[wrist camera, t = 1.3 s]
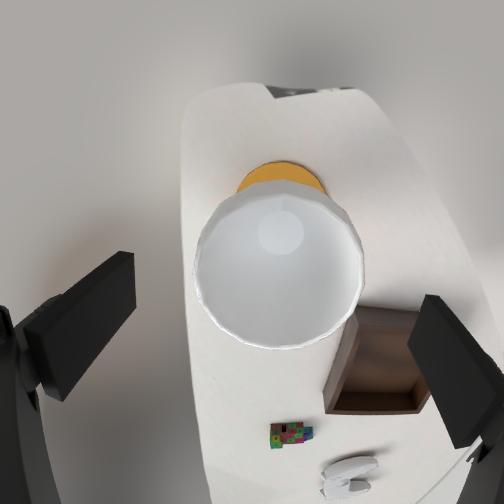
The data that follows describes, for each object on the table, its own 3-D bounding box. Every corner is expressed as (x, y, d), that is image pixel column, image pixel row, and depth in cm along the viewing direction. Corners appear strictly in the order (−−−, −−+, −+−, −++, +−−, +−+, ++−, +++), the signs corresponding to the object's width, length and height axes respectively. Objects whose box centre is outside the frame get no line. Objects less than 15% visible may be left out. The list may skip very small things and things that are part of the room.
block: (273, 439, 42) (272, 456, 38) (270, 424, 40) (269, 442, 37) (312, 436, 41) (313, 453, 38) (312, 421, 40) (313, 439, 36)
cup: (233, 250, 32) (191, 347, 17) (235, 159, 28) (182, 180, 13) (323, 256, 31) (354, 358, 16) (331, 165, 28) (386, 192, 13)
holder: (351, 304, 32) (358, 324, 29) (450, 314, 32) (464, 331, 28) (322, 392, 37) (324, 414, 34) (411, 394, 37) (419, 413, 33)
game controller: (371, 494, 43) (323, 510, 43) (364, 479, 47) (317, 493, 47) (382, 462, 38) (325, 481, 38) (373, 444, 43) (318, 461, 42)
